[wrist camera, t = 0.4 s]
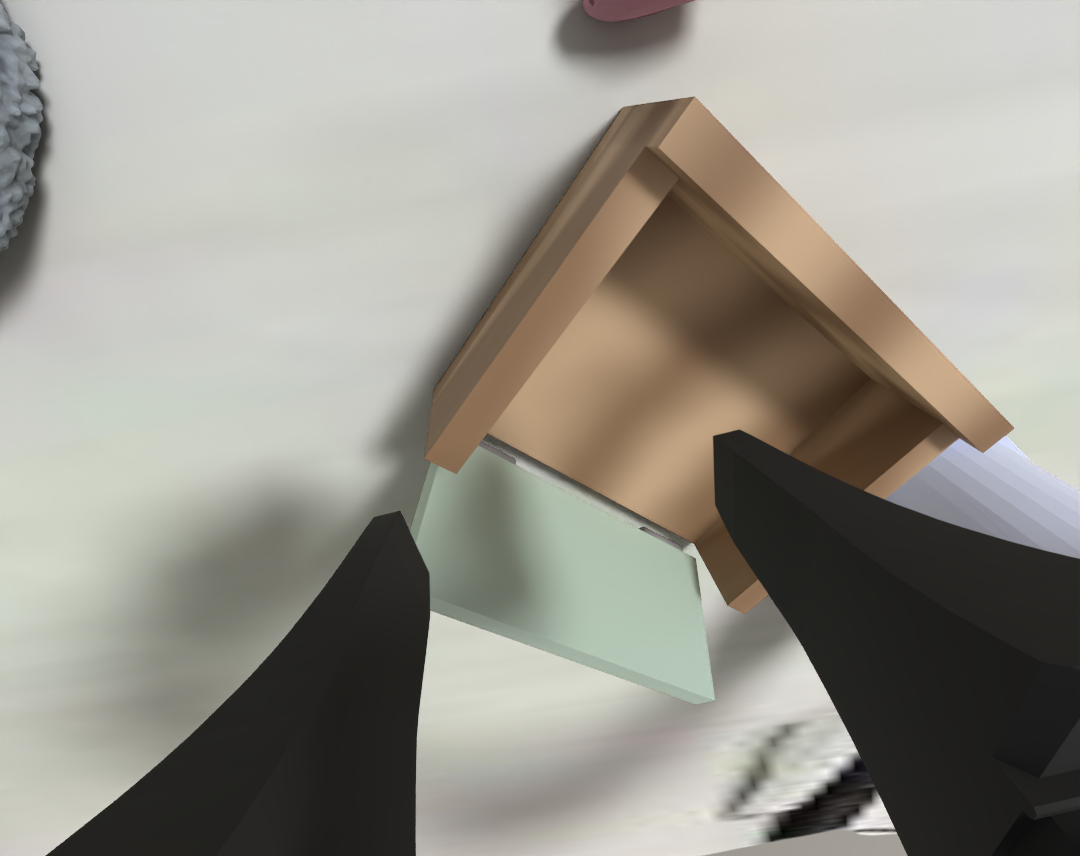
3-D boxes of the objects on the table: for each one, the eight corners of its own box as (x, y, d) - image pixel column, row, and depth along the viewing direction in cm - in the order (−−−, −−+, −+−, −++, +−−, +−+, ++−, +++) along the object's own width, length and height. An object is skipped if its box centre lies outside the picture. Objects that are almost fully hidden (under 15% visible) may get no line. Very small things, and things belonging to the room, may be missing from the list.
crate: (889, 359, 22) (1014, 428, 17) (700, 536, 26) (756, 633, 21) (623, 106, 16) (695, 96, 11) (433, 389, 20) (421, 477, 15)
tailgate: (694, 547, 25) (715, 700, 20) (678, 554, 26) (696, 704, 21) (451, 419, 20) (403, 586, 15) (439, 431, 20) (390, 595, 16)
